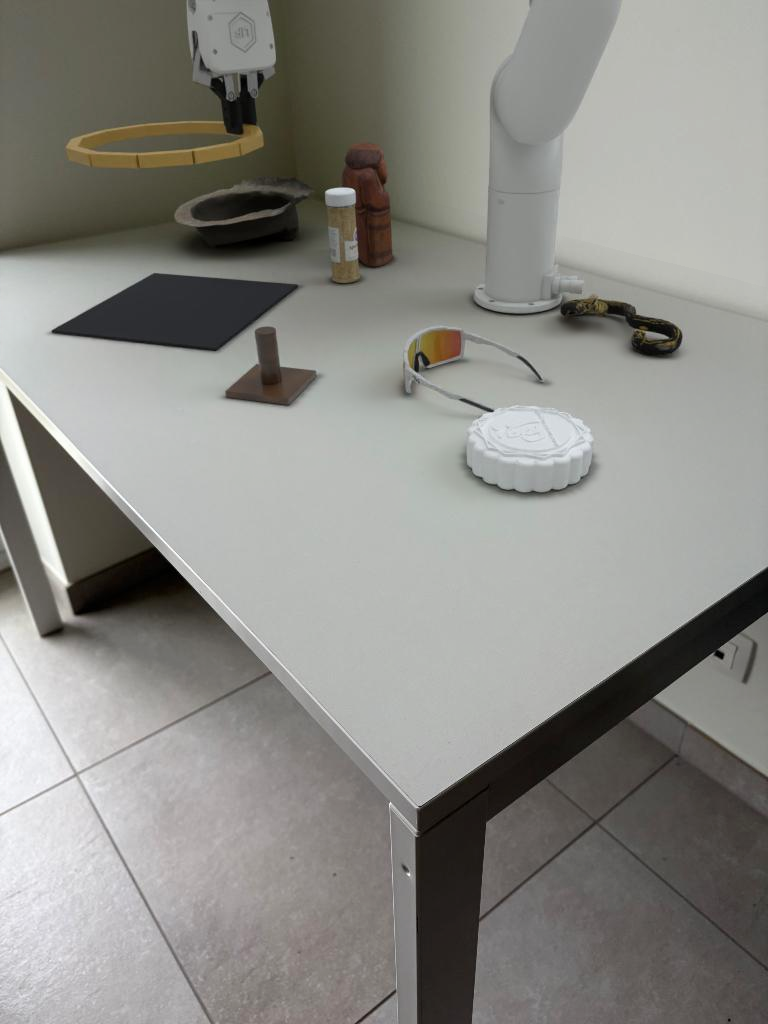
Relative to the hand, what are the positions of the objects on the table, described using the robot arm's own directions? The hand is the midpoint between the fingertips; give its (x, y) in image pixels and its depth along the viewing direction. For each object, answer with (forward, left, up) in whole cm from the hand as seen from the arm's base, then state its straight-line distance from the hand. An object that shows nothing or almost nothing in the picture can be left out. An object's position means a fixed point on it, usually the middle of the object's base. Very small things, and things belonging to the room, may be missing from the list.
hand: (241, 131), depth 105 cm
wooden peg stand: (-14, +26, -23) cm, 37 cm away
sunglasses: (-36, +19, -24) cm, 47 cm away
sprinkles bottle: (-8, -13, -24) cm, 28 cm away
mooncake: (-46, +35, -24) cm, 62 cm away
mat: (+11, +5, -23) cm, 26 cm away
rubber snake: (-51, 0, -24) cm, 56 cm away
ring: (+5, +10, -1) cm, 11 cm away
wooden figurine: (-8, -25, -24) cm, 35 cm away
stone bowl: (+18, -30, -24) cm, 43 cm away
